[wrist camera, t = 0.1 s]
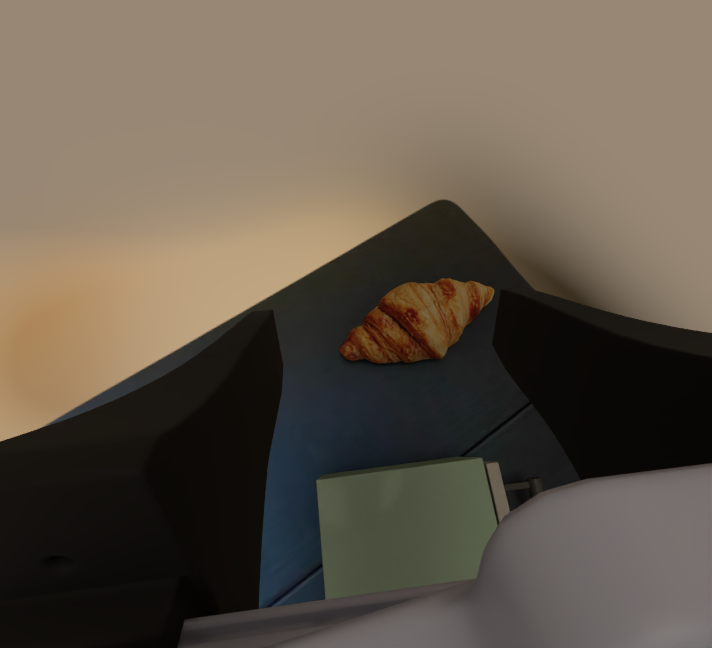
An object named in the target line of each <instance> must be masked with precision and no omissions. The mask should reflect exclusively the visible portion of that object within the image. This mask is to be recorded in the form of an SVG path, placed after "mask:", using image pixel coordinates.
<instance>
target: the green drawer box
mask: <svg viewBox="0 0 712 648" xmlns="http://www.w3.org/2000/svg"><path fill="white" fill-rule="evenodd" d="M316 484H317V497H318V510H319V522H320V535H321V548H322V561H323V574H324V587H325V600H326V599H333V598H341V597H348V596H355V595H362V594H369V593H376V592H383V591H390V590H397V589H404V588H411V587H418V586H426V585H433V584H440V583H447V582H454V581H461V580H468V579H475V578H477V576H478V571H479V567H480V562H481V557H482V553H483V551H484V549H485V547H486V545H487V542H488V541H489V539H490V538H491V536H492V535H493V533H494V531H495V530H496V528H497V527H498V525H497V520H496V516H495V512H494V507H493V503H492V498H491V494H490V490H489V485H488V481H487V477H486V472H485V468H484V464H483V459H482V458H475V457H452V458H444V459H437V460H429V461H422V462H414V463H407V464H399V465H392V466H385V467H377V468H370V469H362V470H355V471H347V472H340V473H332V474H325V475H322V476H321V477H320V478H319V479H317V480H316Z"/></svg>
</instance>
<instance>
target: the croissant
mask: <svg viewBox="0 0 712 648" xmlns="http://www.w3.org/2000/svg"><path fill="white" fill-rule="evenodd" d="M493 294H494V289H492V288H491V287H488V286H487V287H486V286H484V285H481V284H480V283H478V282H474V281H469V282H466V283H463V282H459V281H457V280H451V279H450V278H448V279H444V278H442V279H440V280H439V281H437V282H435V283H430V284H429V283H424V284H423V283H420V284H418V283H415V282H410V283H405V284H403V285H400V286H399V287H397V288H395V289H393V290H392V291H390V292H389V293H388V294H387V295H386V296H384V297H383V298H382V299H381V300H380V301H379V303H378V305H377V306H376V308H375V309H373V310H372V311H371V312H370V313H369V314H368V315H367V316H366V318H365V319H364V321H363V323H362V324H361V326H359V327H356V328H353V329H352V330H351V331H350V333H349V335H348V337H347V339H346V340H345V341H344V342H343V344H342V345H341V346H340V347H339V349H340V353H341V355H342V356H344V358H345V359H347V360H352V361H355V360H358V359H366V360H368V361H370V362H373V363H377V364H379V363H389V362H392V363H397V362H401V361H404V362H405V363H410V362H414V361H420V360H423V359H432V358H436V359H441V358H443V357H444V356H445V354H446V351H447V348H448V347H450V346H452V345H453V344H455V343H456V342H457V341H458V340H459V337H460V335H461V334H462V331H463V329H464V327H465V326H467V325H468V324H470V323H471V322H472V321H473V320H475V318H476V317H477V316H478V314H479V312H480V310H481V309H482V308H483V307H484V306H486V305H487V304H488V303H489V302H490V301H491V300H492V296H493Z"/></svg>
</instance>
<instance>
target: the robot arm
mask: <svg viewBox="0 0 712 648" xmlns="http://www.w3.org/2000/svg"><path fill="white" fill-rule="evenodd" d="M492 345H493V347H494V349H495V351H496V352H497V354H498V356H499V358H500V360H501V362H502V364H503V365H504V367H505V369H506V370H507V372H508V373H509V374H510V376H511V377H512V378H513V380H514V381H515V382H516V384H517V385H518V386H519V388H520V389H521V390H522V392H523V393H524V394H525V395H526V397H527V398H528V399H529V401H530V402H531V403H532V405H533V406H534V407H535V408H536V410H537V411H538V412H539V414H540V415H541V416H542V418H543V419H544V420H545V422H546V423H547V424H548V426H549V427H550V429H551V430H552V432H553V433H554V435H555V436H556V438H557V440H558V441H559V443H560V444H561V446H562V448H563V449H564V451H565V453H566V454H567V456H568V458H569V459H570V461H571V463H572V465H573V466H574V468H575V470H576V472H577V474H578V475H579V477H580V479H581V481H578V482H574V483H571V484H567V485H564V486H560V487H557V488H554V489H550V490H547V491H543V492H540V493H539V494H537V495H536V496H534V497H533V498H531V499H530V500H528V501H527V502H525V503H524V504H522V505H521V506H519V507H517V508H516V509H514V510H513V511H511V512H510V513H508V514H507V515H505V516H504V517H503V519H502V520H501V522H500V524H499V525H498V527H497V528H496V530H495V531H494V533H493V535H492V536H491V538H490V539H489V541H488V542H487V545H486V547H485V549H484V551H483V553H482V557H481V562H480V567H479V571H478V576H477V578H475V579H468V580H461V581H454V582H447V583H440V584H433V585H426V586H418V587H411V588H404V589H397V590H390V591H383V592H376V593H369V594H362V595H355V596H348V597H341V598H333V599H326V600H319V601H312V602H305V603H298V604H291V605H284V606H277V607H270V608H263V609H258V607H259V583H260V564H261V546H262V530H263V516H264V502H265V490H266V479H267V467H268V460H269V454H270V448H271V443H272V438H273V433H274V428H275V423H276V418H277V414H278V408H279V403H280V398H281V393H282V378H283V362H282V356H281V351H280V346H279V340H278V335H277V329H276V324H275V319H274V313H273V310H265V311H254V312H251V313H250V314H248V315H247V316H246V317H245V318H243V319H242V320H241V321H240V322H238V323H237V324H236V325H235V326H234V327H233V328H231V329H230V330H229V331H228V332H226V333H225V334H224V335H223V336H222V337H220V338H219V339H218V340H217V341H215V342H214V343H212V344H211V345H210V346H208V347H207V348H206V349H204V350H203V351H202V352H200V353H199V354H198V355H196V356H195V357H193V358H192V359H190V360H189V361H187V362H186V363H184V364H183V365H181V366H180V367H178V368H176V369H174V370H173V371H171V372H169V373H168V374H166V375H164V376H162V377H161V378H159V379H157V380H155V381H153V382H151V383H149V384H147V385H145V386H143V387H141V388H139V389H137V390H135V391H133V392H131V393H129V394H127V395H125V396H123V397H121V398H118V399H116V400H114V401H111V402H109V403H107V404H104V405H102V406H100V407H97V408H95V409H92V410H90V411H87V412H85V413H82V414H80V415H77V416H74V417H72V418H69V419H66V420H64V421H61V422H58V423H55V424H52V425H49V426H46V427H43V428H40V429H37V430H34V431H31V432H28V433H25V434H22V435H20V436H16V437H13V438H10V439H7V440H4V441H1V442H0V648H712V333H708V332H701V331H694V330H688V329H683V328H677V327H671V326H667V325H662V324H657V323H652V322H646V321H642V320H638V319H634V318H630V317H625V316H622V315H618V314H614V313H610V312H606V311H603V310H600V309H596V308H592V307H589V306H586V305H582V304H579V303H576V302H573V301H569V300H566V299H563V298H559V297H556V296H553V295H549V294H546V293H542V292H539V291H535V290H531V289H525V288H511V289H501V292H500V299H499V305H498V311H497V318H496V324H495V330H494V337H493V343H492Z"/></svg>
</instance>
